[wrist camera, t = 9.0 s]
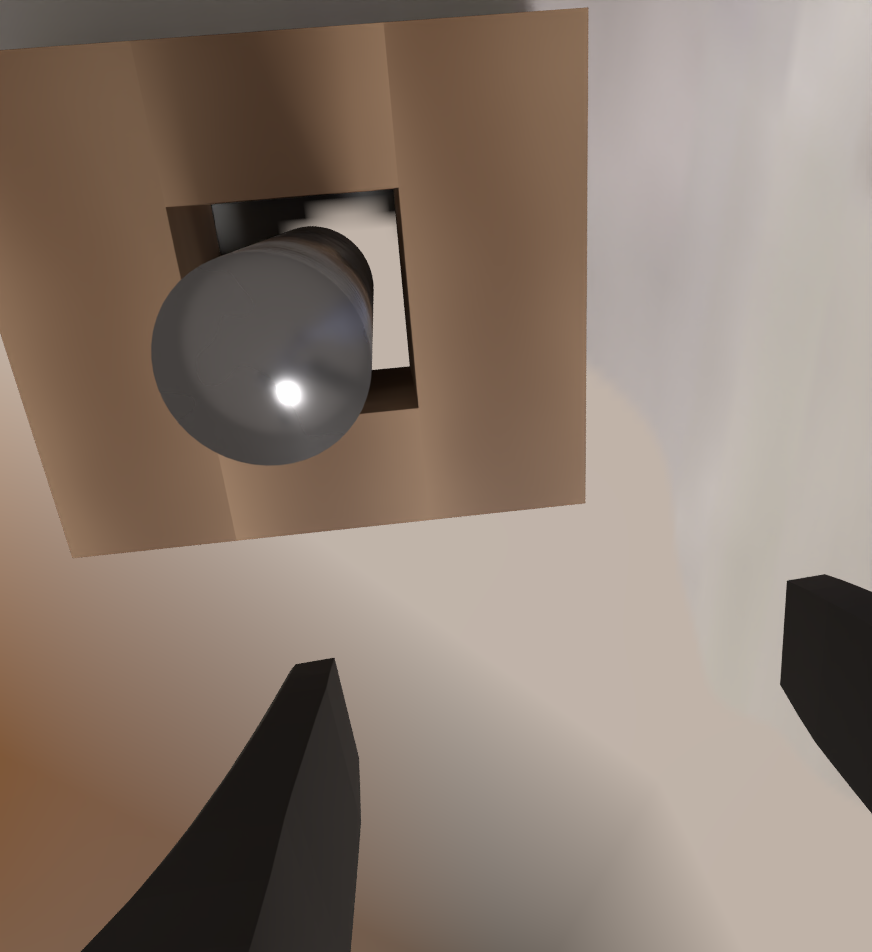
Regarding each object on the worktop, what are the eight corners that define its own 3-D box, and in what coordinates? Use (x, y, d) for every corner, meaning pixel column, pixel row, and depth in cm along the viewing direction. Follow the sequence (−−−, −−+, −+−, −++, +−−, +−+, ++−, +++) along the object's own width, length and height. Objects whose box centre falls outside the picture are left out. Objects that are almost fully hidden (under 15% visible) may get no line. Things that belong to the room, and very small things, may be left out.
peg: (367, 222, 17) (360, 243, 9) (378, 340, 19) (381, 456, 10) (247, 230, 17) (128, 259, 9) (266, 349, 18) (176, 474, 10)
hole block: (539, 49, 16) (588, 7, 13) (546, 446, 20) (585, 503, 16) (20, 88, 16) (-89, 56, 12) (129, 489, 20) (72, 558, 16)
